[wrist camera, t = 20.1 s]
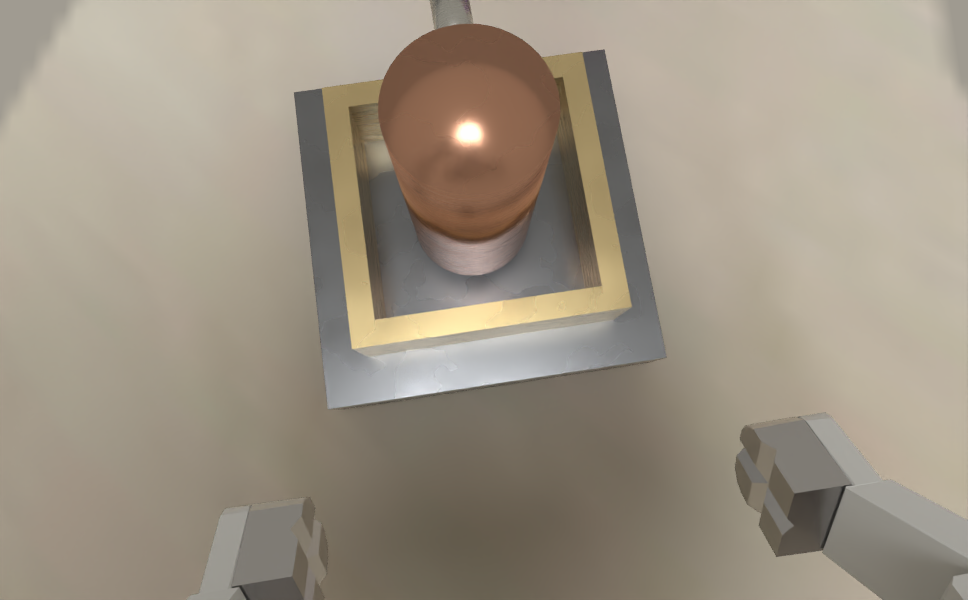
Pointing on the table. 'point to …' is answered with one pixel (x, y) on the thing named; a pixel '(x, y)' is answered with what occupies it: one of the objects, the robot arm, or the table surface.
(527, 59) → the spout can
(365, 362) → the grey square holder
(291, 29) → the table surface
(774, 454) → the robot arm
